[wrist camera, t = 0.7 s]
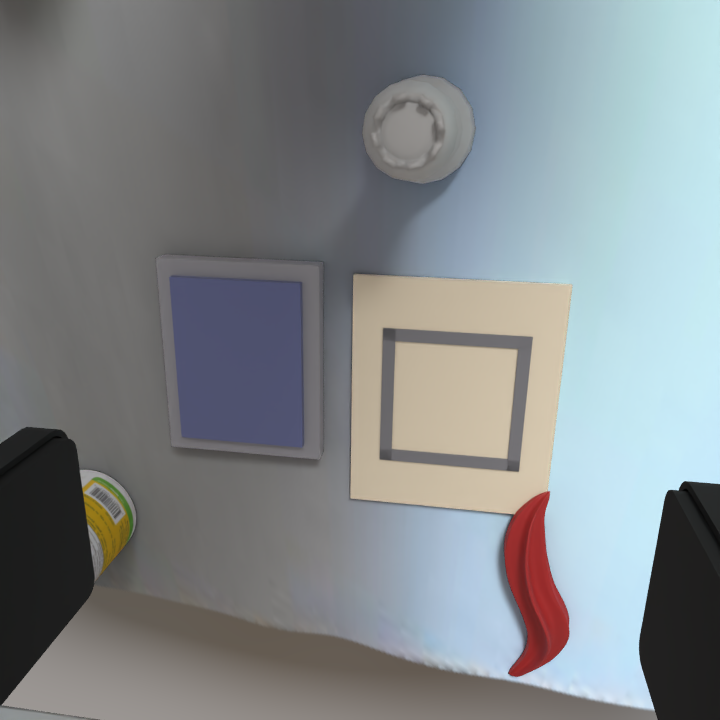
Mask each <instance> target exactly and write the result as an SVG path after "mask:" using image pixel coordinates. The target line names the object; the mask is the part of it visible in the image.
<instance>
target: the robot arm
mask: <svg viewBox="0 0 720 720" xmlns="http://www.w3.org/2000/svg"><path fill="white" fill-rule="evenodd" d="M94 580H95V573H94V566H93V559H92V552H91V545H90V538H89V531H88V524H87V517H86V510H85V503H84V496H83V489H82V482H81V475H80V469H79V462H78V455H77V449H76V445H75V443H74V441H72V440H71V439H68V437H67V435H66V434H65V432H63V431H62V430H57V429H45V428H32V427H26V428H24V429H21V430H20V431H18V432H17V433H15V434H14V435H13V436H11V437H10V438H8V439H7V440H5V441H4V442H2V443H1V444H0V720H98V719H90V718H84V717H77V716H70V715H64V714H57V713H50V712H43V711H36V710H29V709H22V708H15V707H9V706H2V704H3V702H4V701H5V700H6V699H7V698H8V696H9V695H10V694H11V693H12V691H13V690H14V689H15V688H16V686H17V685H18V684H19V683H20V681H21V680H22V679H23V678H24V677H25V675H26V674H27V673H28V672H29V670H30V669H31V668H32V667H33V665H34V664H35V663H36V662H37V661H38V659H39V658H40V657H41V656H42V654H43V653H44V652H45V651H46V650H47V648H48V647H49V646H50V645H51V643H52V642H53V641H54V640H55V639H56V637H57V636H58V635H59V634H60V632H61V631H62V630H63V629H64V627H65V626H66V625H67V624H68V622H69V621H70V620H71V619H72V618H73V616H74V615H75V614H76V613H77V612H78V610H79V609H80V608H81V607H82V605H83V604H84V603H85V602H86V600H87V599H88V598H89V596H90V594H91V592H92V590H93V586H94ZM639 655H640V662H641V666H642V670H643V673H644V676H645V679H646V683H647V686H648V689H649V692H650V696H651V699H652V702H653V706H654V709H655V712H656V715H657V718H658V720H720V484H711V483H699V482H687V481H684V482H683V483H682V484H681V486H680V488H679V491H677V490H669V491H668V492H667V494H666V497H665V501H664V506H663V512H662V517H661V523H660V528H659V534H658V539H657V545H656V550H655V556H654V561H653V567H652V572H651V578H650V584H649V589H648V595H647V600H646V606H645V611H644V617H643V622H642V628H641V633H640V640H639Z"/></svg>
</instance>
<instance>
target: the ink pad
mask: <svg viewBox="0 0 720 720" xmlns="http://www.w3.org/2000/svg"><path fill="white" fill-rule="evenodd" d="M156 269H157V281H158V293H159V305H160V317H161V328H162V340H163V352H164V364H165V376H166V388H167V400H168V412H169V424H170V436H171V446H173V447H184V448H195V449H206V450H217V451H229V452H240V453H251V454H262V455H273V456H284V457H296V458H307V459H318V460H320V458H321V456H322V454H323V452H324V302H323V262H317V261H295V260H274V259H252V258H231V257H209V256H188V255H166V254H164V255H162V256H159V257H157V258H156Z"/></svg>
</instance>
